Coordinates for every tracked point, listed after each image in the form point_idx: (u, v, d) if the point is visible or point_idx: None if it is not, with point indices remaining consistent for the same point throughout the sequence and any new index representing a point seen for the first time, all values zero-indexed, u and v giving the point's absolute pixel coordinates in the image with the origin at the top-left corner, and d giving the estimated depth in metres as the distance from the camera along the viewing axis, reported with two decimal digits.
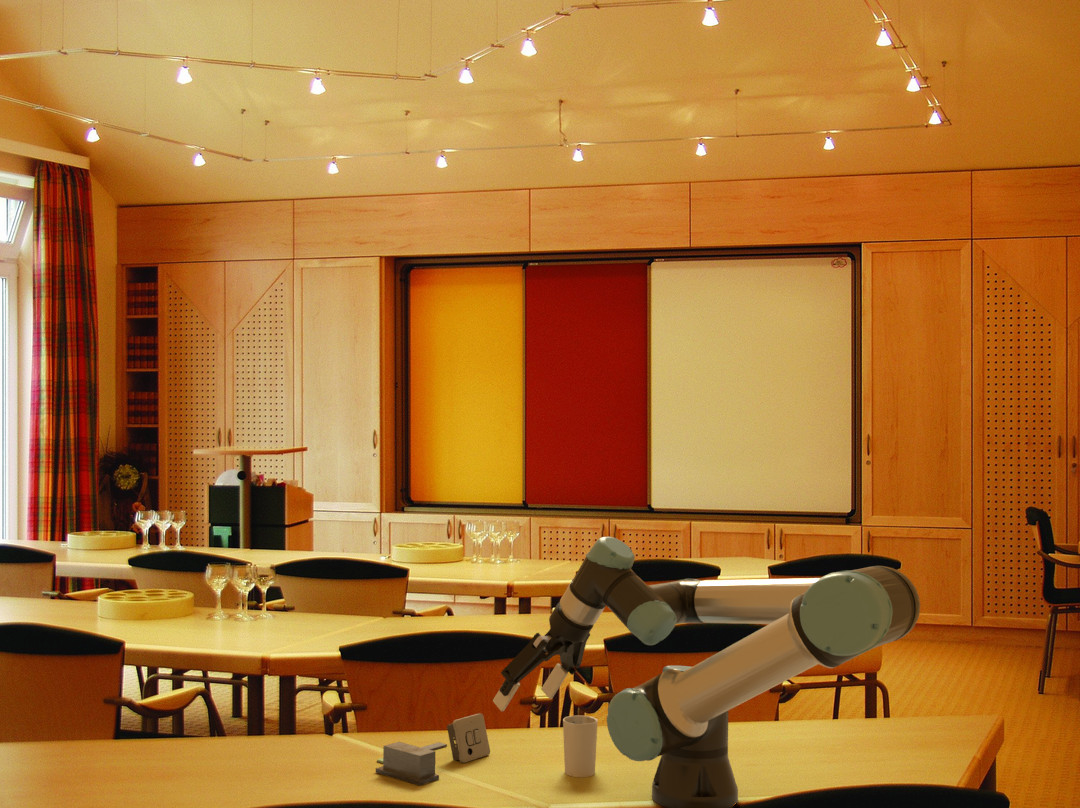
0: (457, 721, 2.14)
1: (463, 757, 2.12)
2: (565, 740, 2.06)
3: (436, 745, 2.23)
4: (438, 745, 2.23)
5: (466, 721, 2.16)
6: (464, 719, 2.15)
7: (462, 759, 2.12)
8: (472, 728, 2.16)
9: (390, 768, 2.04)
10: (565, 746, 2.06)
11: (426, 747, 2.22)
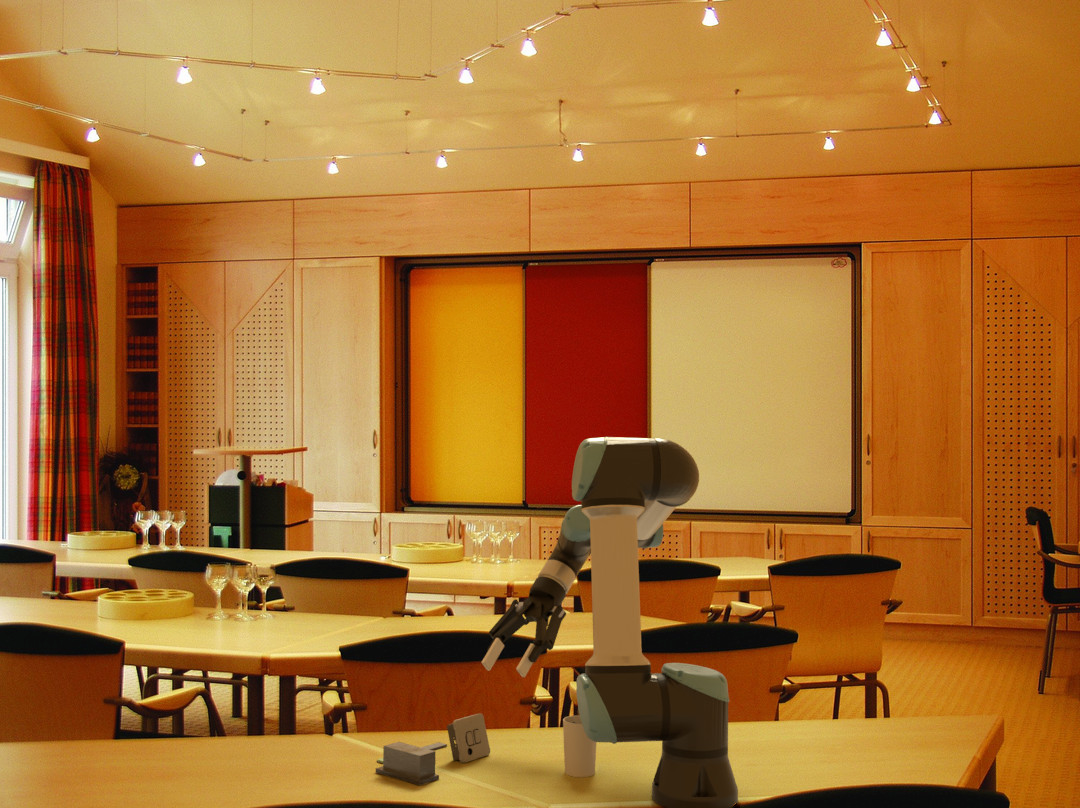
0: (457, 721, 2.14)
1: (463, 757, 2.12)
2: (565, 740, 2.06)
3: (436, 745, 2.23)
4: (438, 745, 2.23)
5: (466, 721, 2.16)
6: (464, 719, 2.15)
7: (462, 759, 2.12)
8: (472, 728, 2.16)
9: (390, 768, 2.04)
10: (565, 746, 2.06)
11: (426, 747, 2.22)
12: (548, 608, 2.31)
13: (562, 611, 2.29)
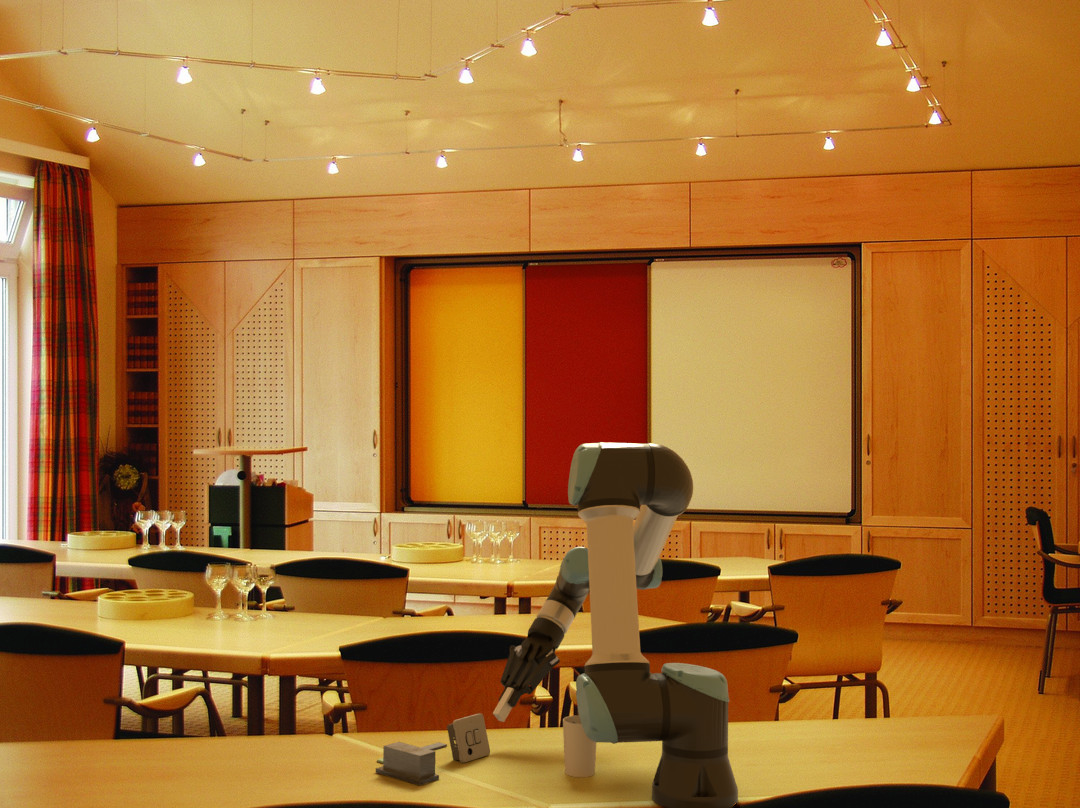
0: (457, 721, 2.14)
1: (463, 757, 2.12)
2: (565, 740, 2.06)
3: (436, 745, 2.23)
4: (438, 745, 2.23)
5: (466, 721, 2.16)
6: (464, 719, 2.15)
7: (462, 759, 2.12)
8: (472, 728, 2.16)
9: (390, 768, 2.04)
10: (565, 746, 2.06)
11: (426, 747, 2.22)
12: (545, 650, 2.31)
13: (554, 659, 2.29)
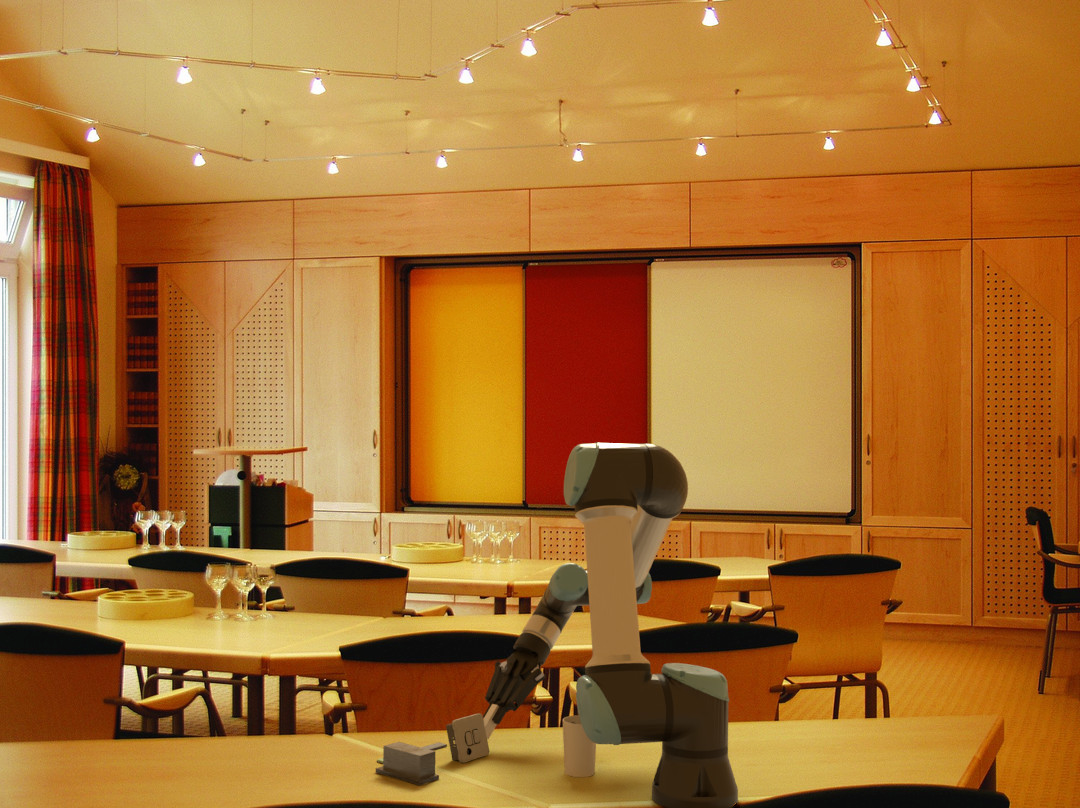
0: (456, 721, 2.14)
1: (462, 757, 2.12)
2: (565, 740, 2.06)
3: (436, 745, 2.23)
4: (438, 745, 2.23)
5: (465, 721, 2.15)
6: (463, 719, 2.15)
7: (461, 759, 2.12)
8: (471, 728, 2.16)
9: (390, 768, 2.04)
10: (565, 746, 2.06)
11: (426, 747, 2.22)
12: (530, 666, 2.27)
13: (540, 675, 2.25)
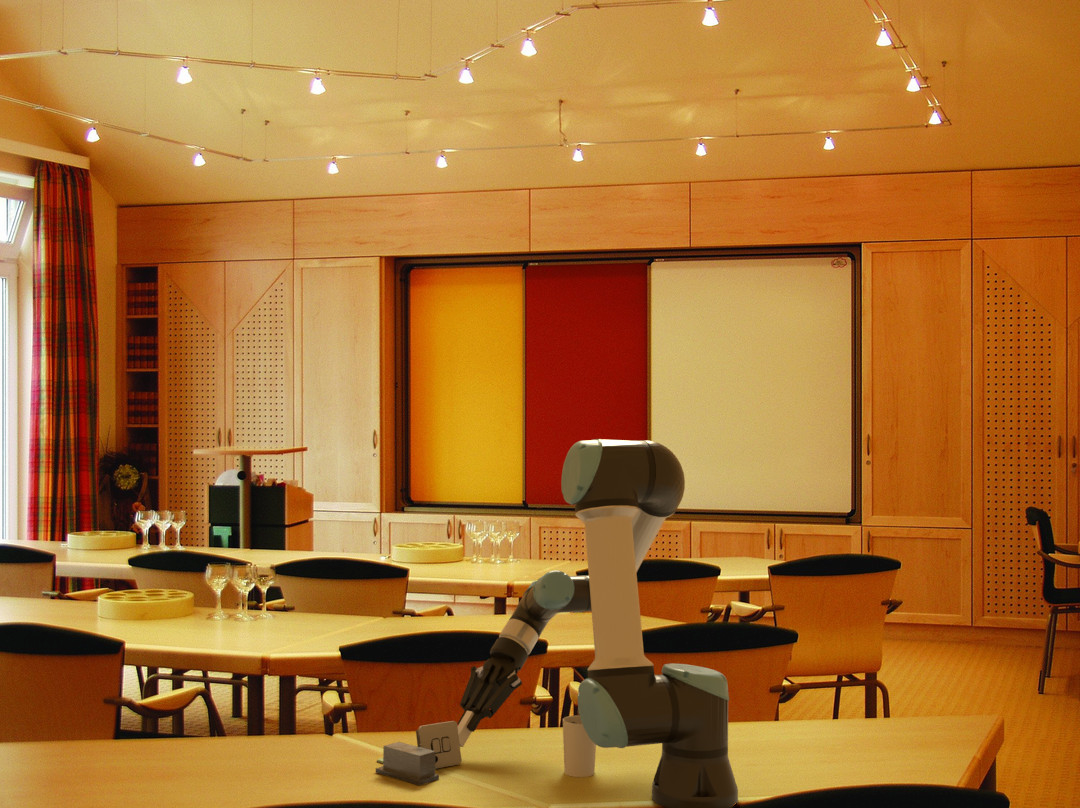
0: (423, 727, 2.09)
1: None
2: (565, 740, 2.06)
3: None
4: None
5: (434, 728, 2.10)
6: (432, 725, 2.10)
7: None
8: (440, 735, 2.10)
9: (390, 768, 2.04)
10: (565, 746, 2.06)
11: None
12: (506, 672, 2.21)
13: (516, 681, 2.19)
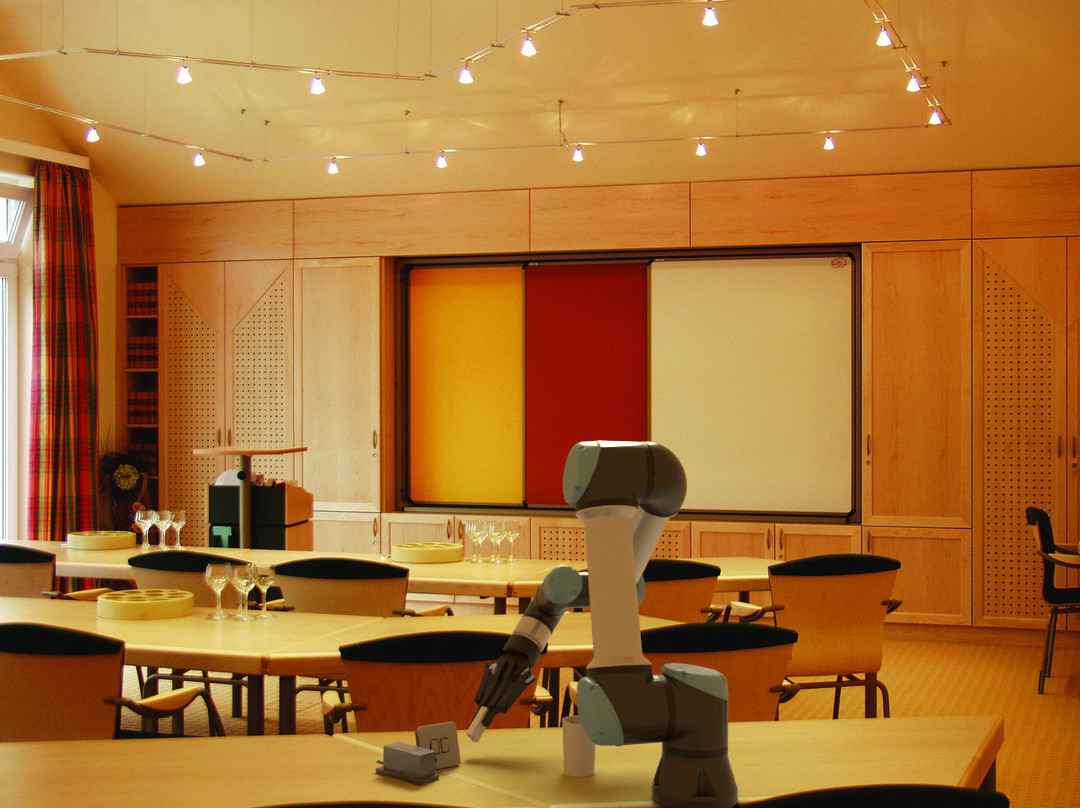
0: (422, 728, 2.09)
1: None
2: (564, 740, 2.06)
3: None
4: None
5: (433, 728, 2.10)
6: (430, 726, 2.10)
7: None
8: (439, 736, 2.10)
9: (390, 768, 2.04)
10: (564, 746, 2.06)
11: None
12: (520, 668, 2.24)
13: (530, 677, 2.22)
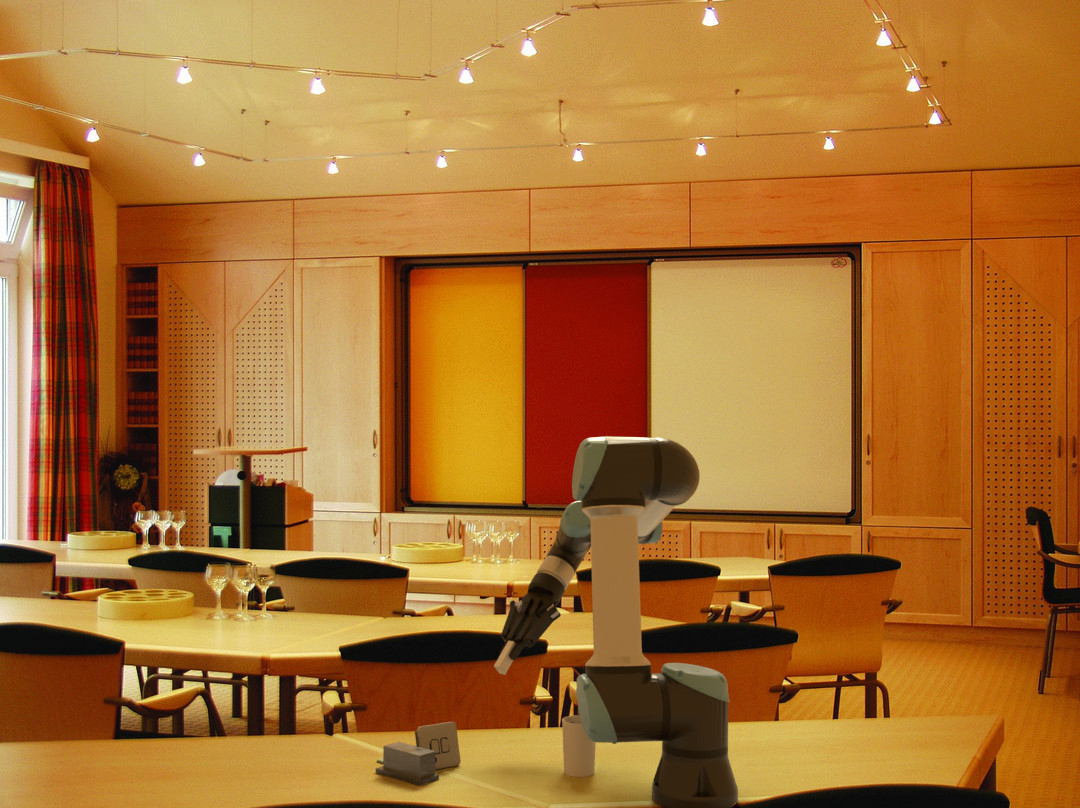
0: (422, 728, 2.09)
1: None
2: (564, 740, 2.06)
3: None
4: None
5: (433, 728, 2.10)
6: (430, 726, 2.10)
7: None
8: (439, 736, 2.10)
9: (390, 768, 2.04)
10: (564, 746, 2.06)
11: None
12: (545, 604, 2.31)
13: (555, 613, 2.29)
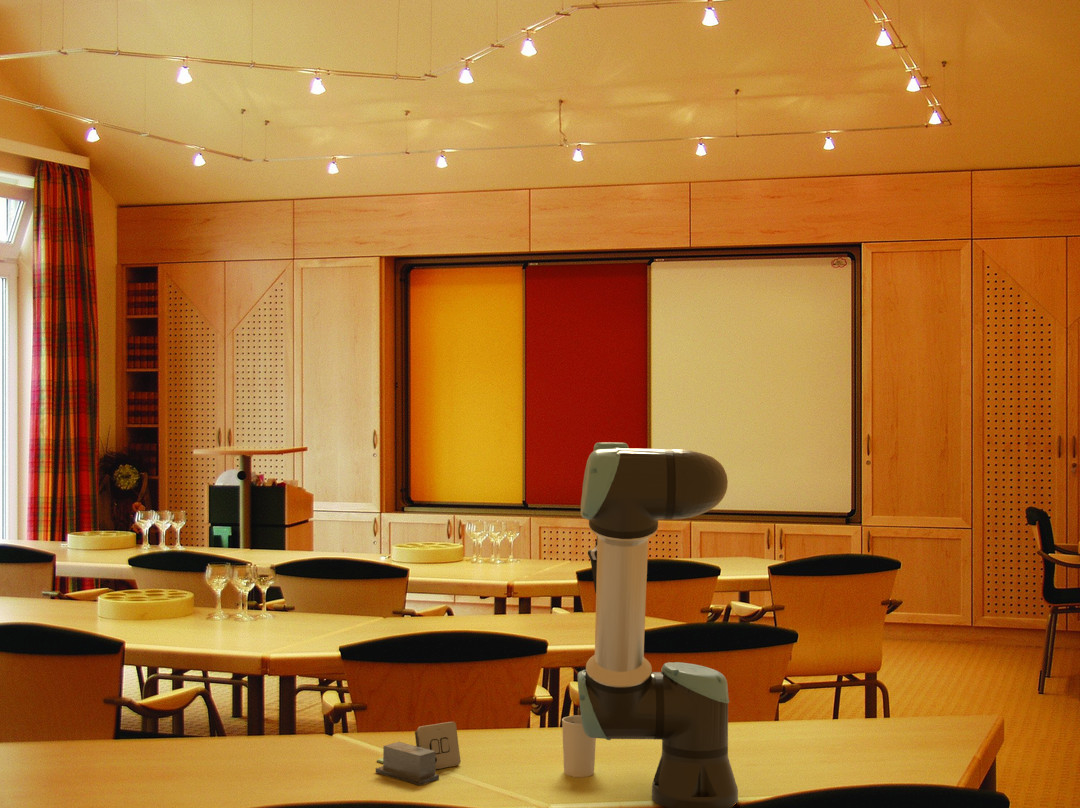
0: (422, 728, 2.09)
1: None
2: (564, 740, 2.06)
3: None
4: None
5: (433, 728, 2.10)
6: (430, 726, 2.10)
7: None
8: (439, 736, 2.10)
9: (390, 768, 2.04)
10: (564, 746, 2.06)
11: None
12: None
13: None
